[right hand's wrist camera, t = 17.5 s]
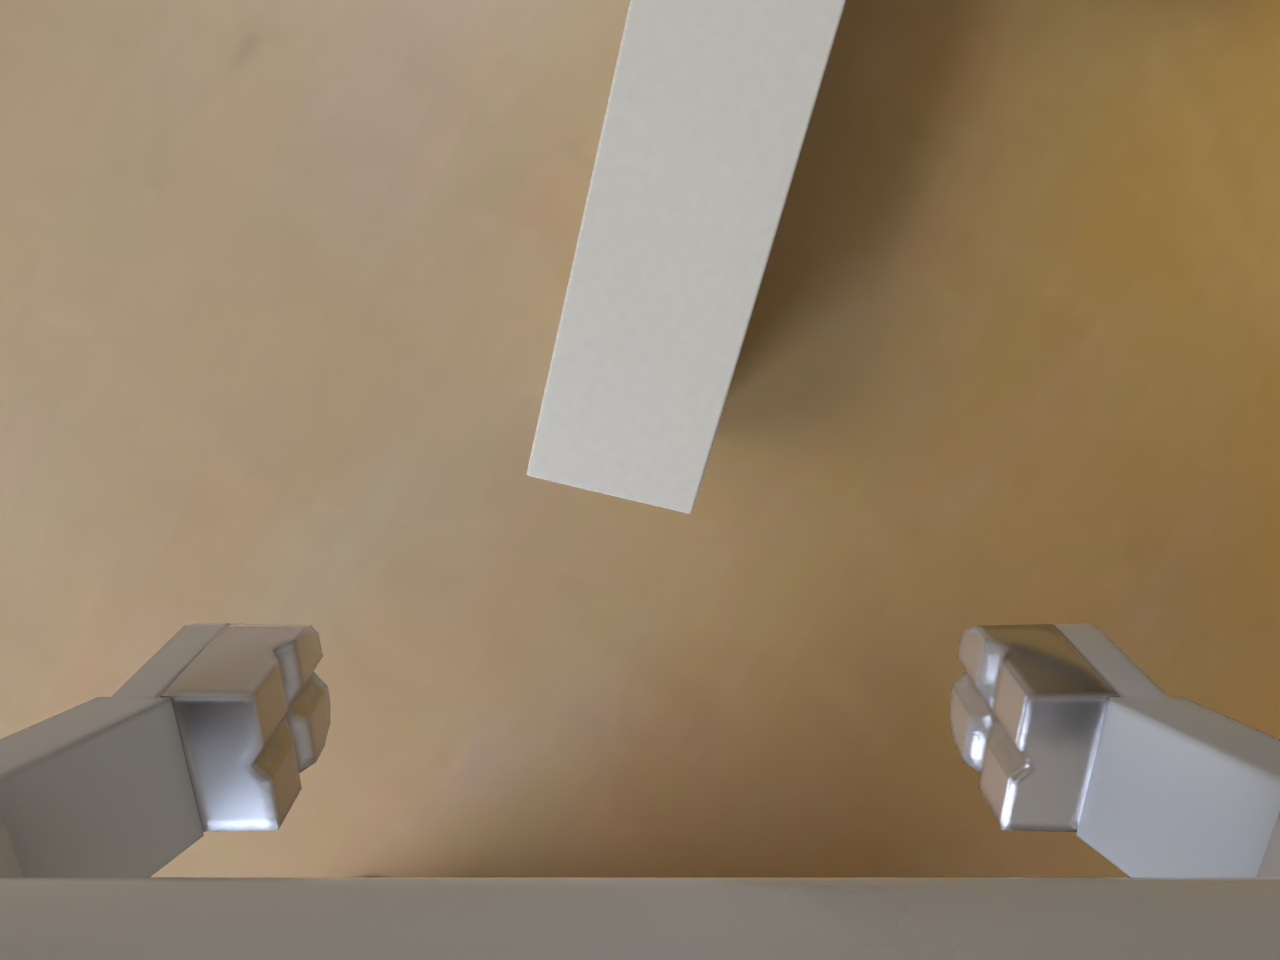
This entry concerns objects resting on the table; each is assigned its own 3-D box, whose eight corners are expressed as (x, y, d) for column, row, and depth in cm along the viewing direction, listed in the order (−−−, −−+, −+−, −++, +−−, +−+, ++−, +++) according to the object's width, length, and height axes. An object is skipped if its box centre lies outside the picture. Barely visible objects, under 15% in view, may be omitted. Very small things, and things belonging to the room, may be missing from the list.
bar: (679, 435, 35) (691, 515, 27) (553, 404, 35) (525, 476, 26) (867, -225, 27) (969, -405, 19) (706, -278, 27) (736, -486, 18)
